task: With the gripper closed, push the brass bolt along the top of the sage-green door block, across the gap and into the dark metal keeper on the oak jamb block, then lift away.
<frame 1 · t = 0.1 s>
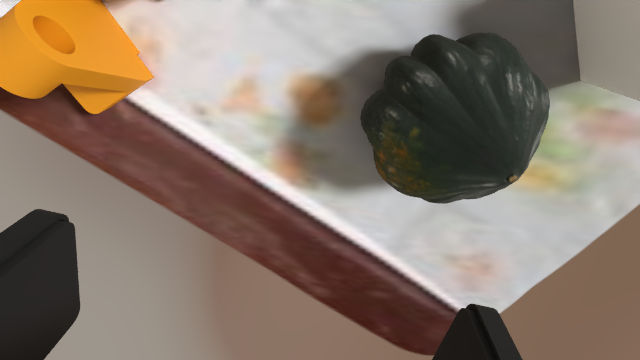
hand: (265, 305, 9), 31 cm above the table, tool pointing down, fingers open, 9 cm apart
squash: (434, 103, 38), on the table
bracket: (95, 46, 37), on the table
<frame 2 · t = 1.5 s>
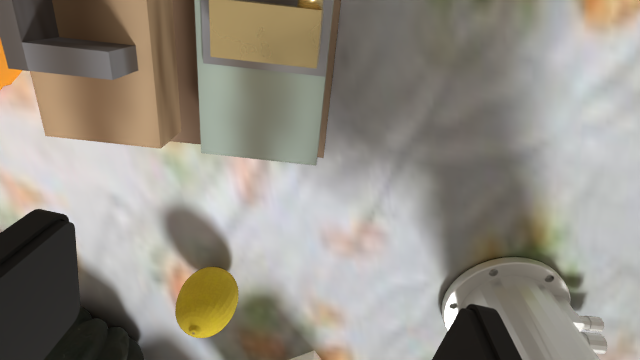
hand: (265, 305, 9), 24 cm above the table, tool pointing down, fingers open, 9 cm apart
lemon: (220, 271, 40), on the table
squash: (98, 335, 45), on the table
brass bolt: (269, 15, 21), point 8 cm above the table, slide at 0.0 cm
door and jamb: (200, 14, 28), on the table
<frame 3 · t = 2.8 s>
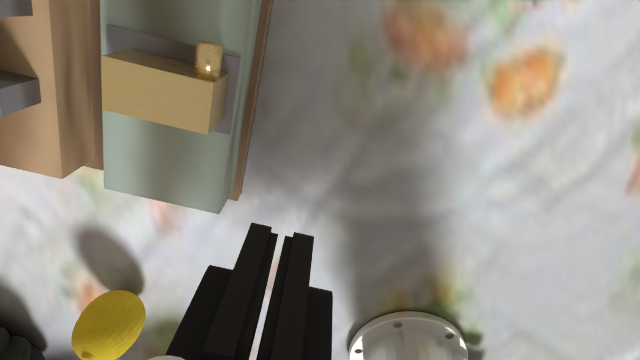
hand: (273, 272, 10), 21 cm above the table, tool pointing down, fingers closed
lemon: (133, 293, 39), on the table
squash: (3, 341, 44), on the table
brass bolt: (168, 75, 21), point 7 cm above the table, slide at 0.0 cm
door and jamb: (123, 48, 28), on the table
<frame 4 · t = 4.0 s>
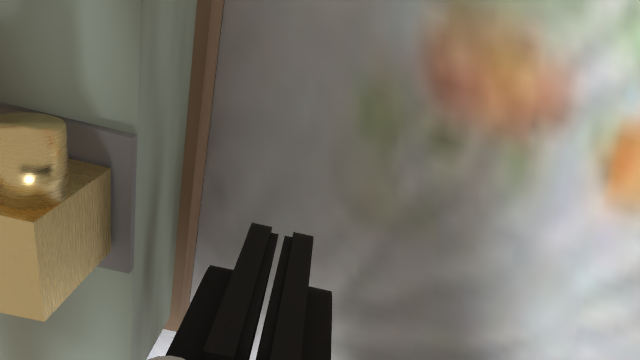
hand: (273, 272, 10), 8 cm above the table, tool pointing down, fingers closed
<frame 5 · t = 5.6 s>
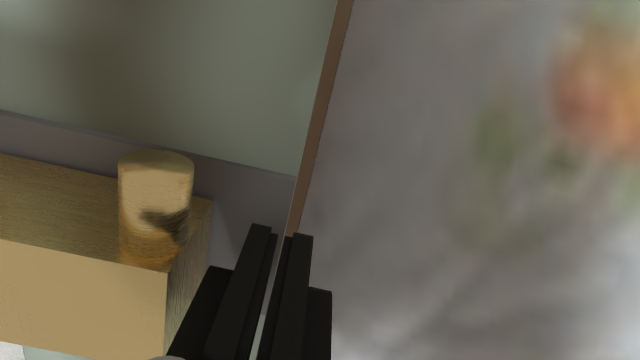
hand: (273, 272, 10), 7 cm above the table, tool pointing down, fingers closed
brass bolt: (66, 224, 9), point 8 cm above the table, slide at 1.6 cm, touching gripper
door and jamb: (66, 120, 16), on the table
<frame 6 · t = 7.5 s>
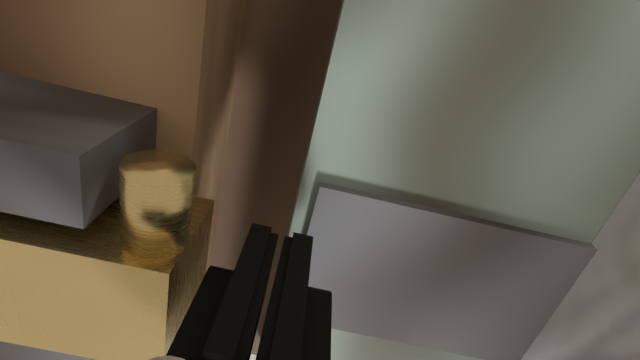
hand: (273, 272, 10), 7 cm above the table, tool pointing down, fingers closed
brass bolt: (66, 224, 9), point 7 cm above the table, slide at 10.2 cm, touching gripper
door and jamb: (267, 165, 16), on the table
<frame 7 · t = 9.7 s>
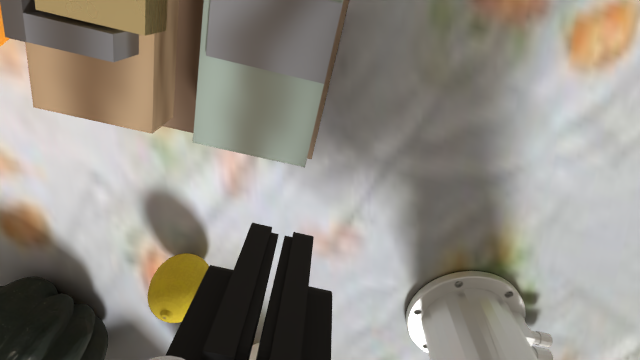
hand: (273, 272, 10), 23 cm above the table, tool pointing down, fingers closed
lemon: (195, 258, 40), on the table
squash: (62, 311, 44), on the table
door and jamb: (205, 4, 28), on the table
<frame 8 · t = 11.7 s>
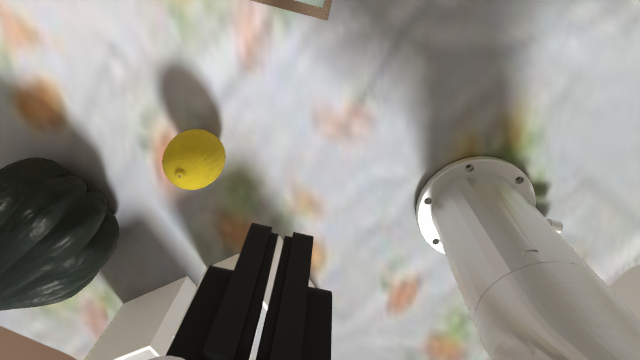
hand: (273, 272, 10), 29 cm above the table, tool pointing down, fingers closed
storage container: (221, 298, 50), on the table
lemon: (208, 143, 40), on the table
squash: (74, 205, 45), on the table
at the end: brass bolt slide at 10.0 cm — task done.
